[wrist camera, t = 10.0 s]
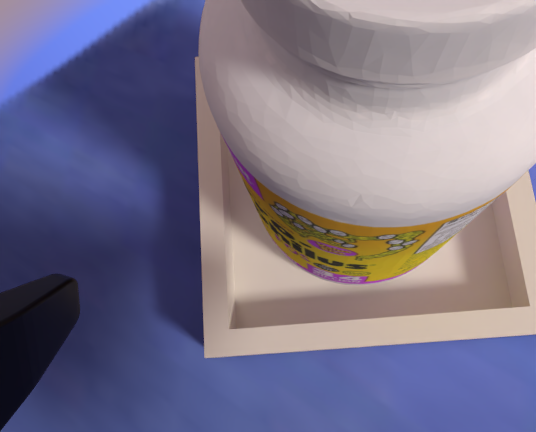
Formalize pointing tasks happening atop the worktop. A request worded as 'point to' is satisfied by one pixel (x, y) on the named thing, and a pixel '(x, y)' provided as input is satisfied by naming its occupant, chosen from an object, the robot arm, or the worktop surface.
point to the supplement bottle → (371, 121)
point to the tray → (353, 296)
